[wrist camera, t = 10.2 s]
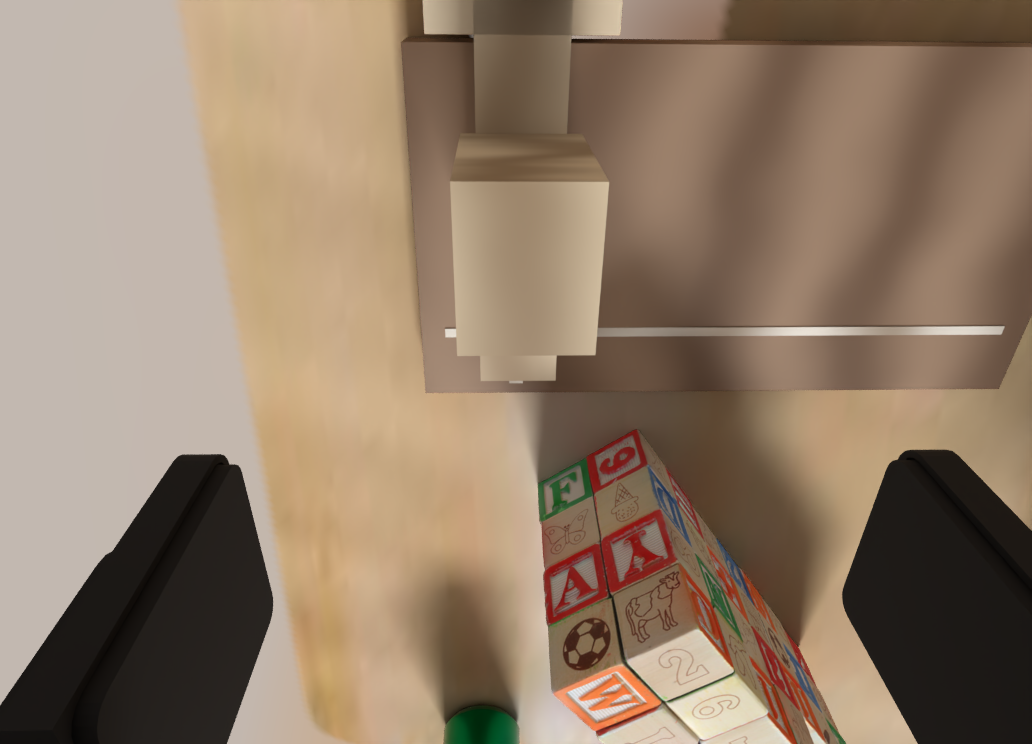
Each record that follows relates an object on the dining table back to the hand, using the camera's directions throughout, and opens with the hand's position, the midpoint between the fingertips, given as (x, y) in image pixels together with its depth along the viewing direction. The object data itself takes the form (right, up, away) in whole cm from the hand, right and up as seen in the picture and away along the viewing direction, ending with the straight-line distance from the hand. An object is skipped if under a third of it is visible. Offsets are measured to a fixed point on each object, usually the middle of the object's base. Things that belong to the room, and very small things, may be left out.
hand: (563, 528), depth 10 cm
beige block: (-1, +10, +16) cm, 20 cm away
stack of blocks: (+9, -9, +29) cm, 32 cm away
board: (+8, +9, +18) cm, 22 cm away
